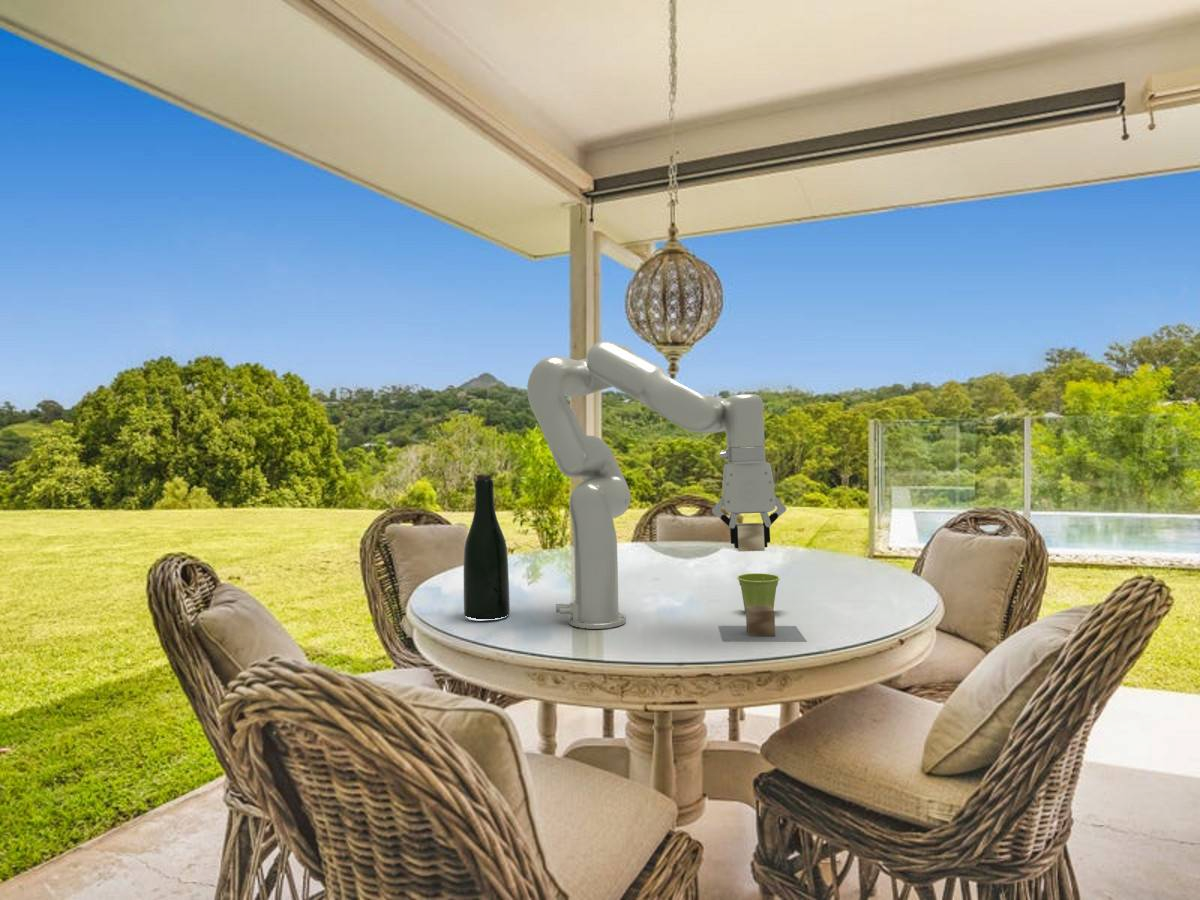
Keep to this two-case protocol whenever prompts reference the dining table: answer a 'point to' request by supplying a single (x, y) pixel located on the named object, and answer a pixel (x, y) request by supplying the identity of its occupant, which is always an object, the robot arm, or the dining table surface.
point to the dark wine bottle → (485, 559)
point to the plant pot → (758, 589)
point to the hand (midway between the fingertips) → (750, 546)
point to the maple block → (750, 537)
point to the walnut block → (760, 621)
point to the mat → (742, 636)
